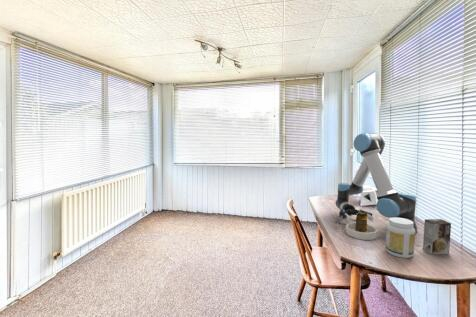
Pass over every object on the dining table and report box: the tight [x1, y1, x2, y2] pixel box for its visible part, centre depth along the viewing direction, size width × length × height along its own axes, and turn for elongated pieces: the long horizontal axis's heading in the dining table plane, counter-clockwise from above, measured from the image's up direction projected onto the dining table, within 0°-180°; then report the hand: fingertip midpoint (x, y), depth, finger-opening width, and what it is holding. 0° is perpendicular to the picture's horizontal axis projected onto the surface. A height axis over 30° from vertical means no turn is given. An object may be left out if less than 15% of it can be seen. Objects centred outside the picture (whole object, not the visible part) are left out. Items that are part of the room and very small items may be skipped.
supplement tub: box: [385, 217, 416, 259], centre depth 126 cm, size 12×12×17 cm
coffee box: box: [422, 218, 452, 255], centre depth 128 cm, size 9×6×16 cm
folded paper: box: [360, 184, 378, 207], centre depth 217 cm, size 17×24×17 cm
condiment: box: [354, 212, 368, 233], centre depth 150 cm, size 7×8×12 cm
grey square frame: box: [334, 217, 356, 226], centre depth 171 cm, size 14×14×1 cm
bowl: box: [344, 222, 379, 241], centre depth 151 cm, size 17×17×4 cm
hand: (360, 219), depth 151 cm, fingers open, 13 cm apart
